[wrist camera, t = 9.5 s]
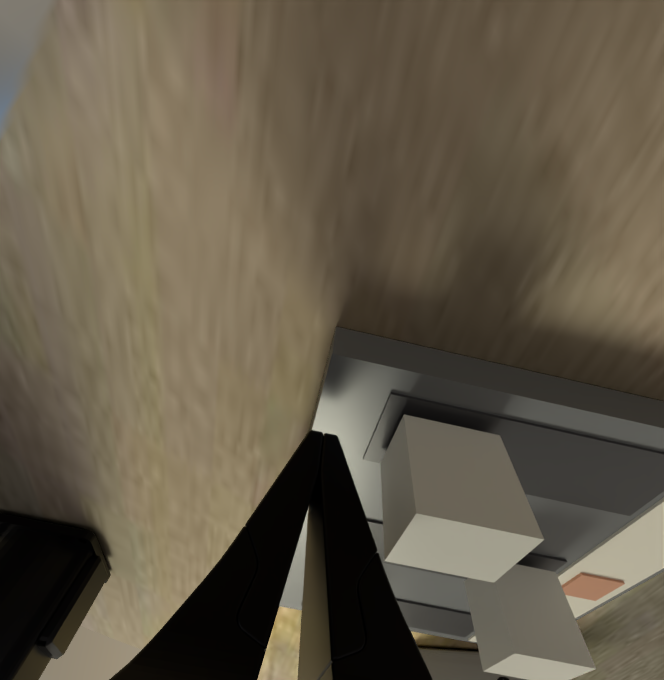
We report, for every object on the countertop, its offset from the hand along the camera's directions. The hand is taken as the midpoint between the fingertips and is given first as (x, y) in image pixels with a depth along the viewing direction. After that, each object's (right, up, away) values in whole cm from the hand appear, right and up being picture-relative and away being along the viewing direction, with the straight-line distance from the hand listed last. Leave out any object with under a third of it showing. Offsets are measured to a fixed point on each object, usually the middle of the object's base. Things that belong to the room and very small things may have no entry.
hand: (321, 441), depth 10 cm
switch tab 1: (+4, -1, +1) cm, 4 cm away
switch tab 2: (+8, -8, +5) cm, 12 cm away
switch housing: (+6, -6, +6) cm, 11 cm away
